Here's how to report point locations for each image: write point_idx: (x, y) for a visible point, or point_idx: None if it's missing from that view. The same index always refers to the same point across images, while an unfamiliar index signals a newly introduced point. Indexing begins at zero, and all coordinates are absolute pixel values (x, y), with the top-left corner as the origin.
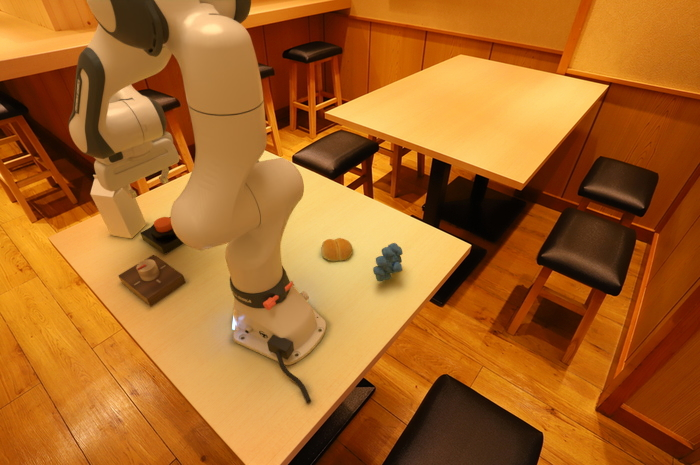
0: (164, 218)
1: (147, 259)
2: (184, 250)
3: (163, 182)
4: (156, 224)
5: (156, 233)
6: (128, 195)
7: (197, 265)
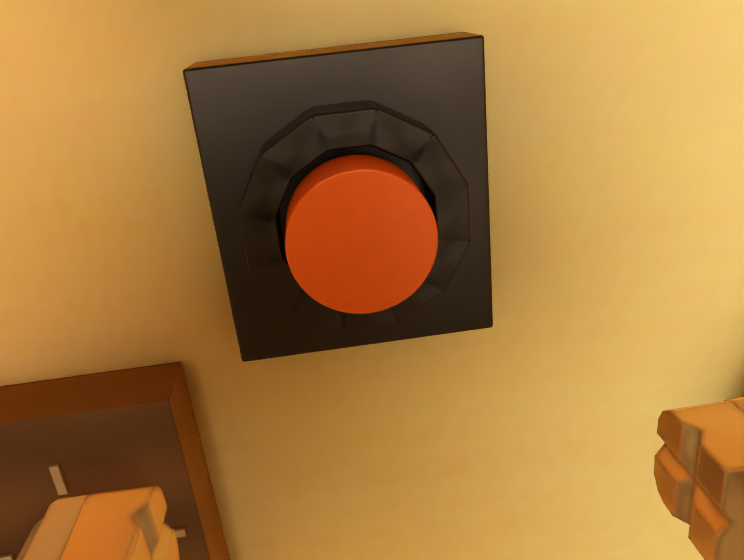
0: (398, 210)
1: (115, 420)
2: (358, 372)
3: (671, 507)
4: (304, 244)
5: (266, 269)
6: (47, 513)
7: (343, 517)
